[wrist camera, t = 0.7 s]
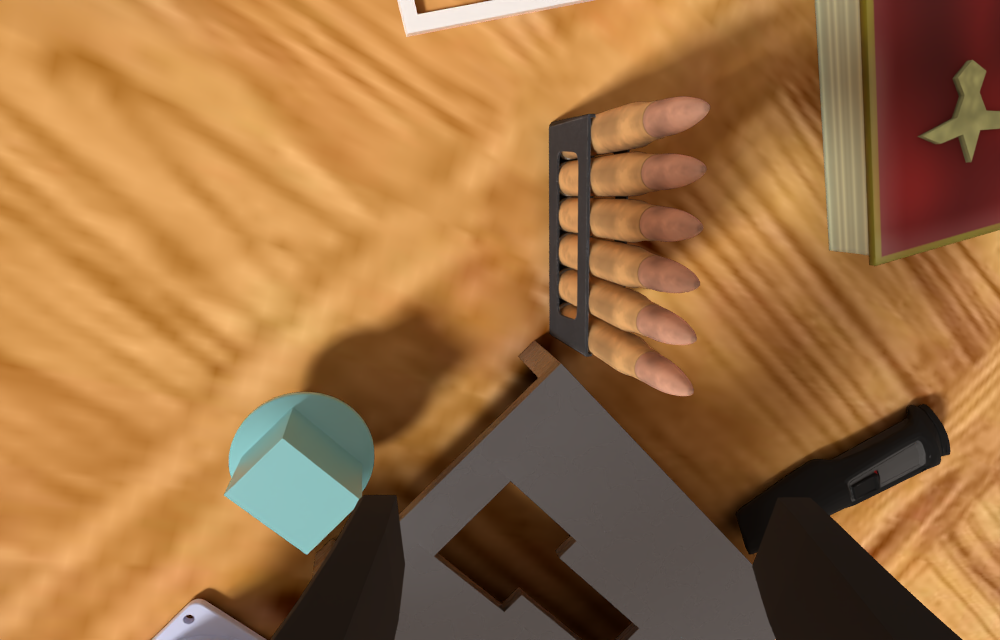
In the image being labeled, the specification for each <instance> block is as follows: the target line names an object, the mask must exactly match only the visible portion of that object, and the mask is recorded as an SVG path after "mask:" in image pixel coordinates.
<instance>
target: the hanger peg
mask: <svg viewBox="0 0 1000 640" xmlns="http://www.w3.org/2000/svg"><path fill="white" fill-rule="evenodd" d="M373 465H374V444H373V439H372V435H371V433H370V430H369V428H368V426H367V424H366V423H365V421H364V420H363V418H362V417H361V416H360V415H359V414H358V413H357V412H356V411H355V410H354V409H353V408H352V407H351V406H349V405H348V404H347V403H345V402H343V401H341V400H339V399H337V398H335V397H332V396H330V395H326V394H322V393H316V392H294V393H289V394H284V395H281V396H278V397H275V398H273V399H271V400H269V401H267V402H265V403H263V404H262V405H260V406H259V407H257V408H256V409H255V410H254V411H253V412H251V413H250V414H249V415H248V417H247V418H246V419H245V420H244V421H243V423H242V424H241V426H240V427H239V429H238V431H237V433H236V435H235V437H234V439H233V441H232V444H231V448H230V453H229V470H230V475H231V478H232V479H231V481H230V483H229V485H228V487H227V489H226V491H225V493H224V496H226V497H227V498H228V499H230V500H231V501H233V502H234V503H235V504H237V505H238V506H240V507H241V508H242V509H244V510H245V511H246V512H248V513H249V514H251V515H252V516H253V517H255V518H256V519H258V520H259V521H260V522H262V523H263V524H264V525H266V526H267V527H269V528H270V529H271V530H273V531H274V532H276V533H277V534H278V535H280V536H281V537H283V538H284V539H285V540H287V541H288V542H289V543H291V544H292V545H294V546H295V547H296V548H298V549H299V550H301V551H302V552H303V553H305V554H306V555H307V554H308V553H309V552H310V551H311V550H312V549H313V548H314V547H316V546H317V545H318V544H319V543H320V542H321V541H322V540H323V539H324V538H325V537H326V536H327V535H328V534H329V533H330V532H331V531H332V530H333V529H334V528H335V527H336V526H337V525H338V524H339V523H340V522H341V521H342V520H343V519H344V518H345V517H346V516H347V515H348V514H349V513H350V512H351V511H352V510H353V509H354V508H355V506H356V504H357V502H358V500H359V499H360V498H361V497H362V491H363V490H364V489H365V487H366V485H367V483H368V481H369V479H370V477H371V474H372V470H373Z"/></svg>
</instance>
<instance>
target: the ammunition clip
mask: <svg viewBox="0 0 1000 640" xmlns="http://www.w3.org/2000/svg"><path fill="white" fill-rule="evenodd" d="M709 110H710V105H709V104H708V103H707V102H706V101H704V100H702V99H699V98H694V97H686V96H681V97H672V98H667V99H663V100H657V101H652V102H641V101H639V102H634V103H629V104H626V105H623V106H620V107H617V108H614V109H611V110H608V111H604V112H601V113H598V114H587V115H582V116H578V117H573V118H568V119H564V120H559V121H554V122H551V124H550V126H549V291H550V334H551V335H552V336H554V337H555V338H557V339H558V340H560V341H562V342H563V343H565V344H566V345H568V346H570V347H571V348H573V349H575V350H576V351H578V352H579V353H581V354H583V355H584V356H592V354H593V355H595V356H596V357H598V358H599V359H601V360H602V361H604V362H605V363H607V364H608V365H610V366H611V367H612V368H614V369H615V370H617V371H619V372H621V373H623V374H625V375H628V376H633V377H635V378H636V379H638V380H640V381H642V382H644V383H646V384H648V385H649V386H651V387H653V388H655V389H657V390H660V391H662V392H664V393H667V394H671V395H676V396H689V395H692V394H693V393H694V389H693V386H692V384H691V382H690V380H689V379H688V378H687V376H686V375H685V374H684V373H683V372H682V371H681V369H680V368H679V367H677V366H676V365H675V364H674V363H672V362H671V361H670V360H668V359H667V358H665V357H663V356H661V355H660V353H658V352H657V351H655V350H653V349H652V348H650V347H649V345H648V344H647V343H646V342H645V341H644V340H643V339H641V338H640V337H638V336H636V335H634V334H632V333H630V332H636V333H638V334H640V335H643V336H647V337H649V338H652V339H654V340H656V341H659V342H663V343H666V344H673V345H688V344H692V343H694V342H696V340H697V337H696V334H695V332H694V330H693V329H692V328H691V327H690V326H689V324H688V323H687V322H686V321H684V320H683V319H682V318H681V317H679V316H678V315H676V314H674V313H673V312H671V311H669V310H667V309H665V308H663V307H661V306H659V305H657V304H655V303H653V302H651V301H650V300H649V299H648V298H647V297H646V296H644V295H642V294H641V293H639V292H636V291H634V290H631V289H628V288H626V287H633V288H637V287H642V288H646V289H652V290H656V291H661V292H669V293H683V292H689V291H692V290H695V289H696V288H698V287H699V286H700V281H699V279H698V278H697V276H696V275H695V274H694V273H693V272H692V271H691V270H689V269H688V268H686V267H685V266H683V265H681V264H680V263H678V262H675V261H673V260H671V259H667V258H663V257H660V256H659V255H655V254H652V253H650V252H648V251H647V250H645V249H643V248H642V247H639V246H634V245H629V244H627V242H633V243H635V242H640V241H644V240H645V241H663V242H671V241H680V240H685V239H688V238H691V237H694V236H696V235H697V234H699V233H700V232H701V231H702V230H703V225H702V223H701V222H700V221H699V220H698V219H697V218H696V217H694V216H692V215H691V214H689V213H687V212H685V211H682V210H679V209H675V208H670V207H661V206H657V205H650V204H648V203H646V202H644V201H640V200H634V199H628V196H638V195H643V194H646V193H648V192H652V191H658V190H668V189H673V188H677V187H682V186H685V185H688V184H690V183H692V182H694V181H696V180H697V179H699V178H700V177H702V176H703V175H704V173H705V172H706V170H707V168H706V166H705V164H704V163H703V162H701V161H700V160H698V159H696V158H693V157H690V156H686V155H681V154H670V153H668V154H647V153H643V152H629V149H634V148H639V147H643V146H646V145H647V144H649V143H651V142H652V141H654V140H657V139H661V138H664V137H666V136H670V135H674V134H677V133H680V132H682V131H685V130H687V129H689V128H690V127H692V126H694V125H695V124H697V123H698V122H699V121H701V120H702V119H703V118H704V117H705V116H706V115H707V113H708V112H709ZM607 153H614V155H608V156H601V157H594V156H596V155H601V154H607ZM593 196H615V199H606V198H593ZM593 236H596V237H602V238H608V239H614V241H610V240H605V239H600V238H595V237H593ZM604 279H605V280H604ZM607 280H608V281H607ZM610 281H611V282H610ZM612 282H613V283H612ZM588 351H589V352H588ZM590 352H591V353H590Z"/></svg>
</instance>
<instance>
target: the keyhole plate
mask: <svg viewBox="0 0 1000 640" xmlns="http://www.w3.org/2000/svg"><path fill="white" fill-rule="evenodd" d="M518 357H519V358H520V359H521V360H522V361H523V362H524V363H525V364H526V365H527V366H528V367H529V368H530V369H531V370H532V372H533V373H534V374H535V375H536V376H537V377H538V379H537V380H536V381H535V382H534V383H533V384H531V385H530V386H529V387H528V388H527V389H526V390H525V391H524V392H523V393H522V394H521V395H520V396H519V397H518V398H517V399H516V400H515V401H514V402H513V403H512V404H511V405H510V406H509V407H508V408H507V409H506V410H505V411H504V412H503V413H502V414H501V415H500V416H499V417H498V418H497V419H496V420H495V421H494V422H493V423H492V424H491V425H490V426H489V427H488V428H487V429H486V430H484V431H483V432H482V433H481V434H480V435H479V436H478V437H477V438H476V439H475V440H474V441H473V442H472V443H471V444H470V445H469V446H468V447H467V448H466V449H465V450H464V451H463V452H462V453H461V454H460V455H459V456H458V457H457V458H456V459H455V460H454V461H453V462H452V463H451V464H450V465H449V466H448V467H447V468H446V469H445V470H444V471H443V472H442V473H441V474H440V475H439V476H438V477H436V478H435V479H434V480H433V481H432V482H431V483H430V484H429V485H428V486H427V487H426V488H425V489H424V490H423V491H422V492H421V493H420V494H419V495H418V496H417V497H416V498H415V499H414V500H413V501H412V502H411V503H410V504H409V505H408V506H407V507H406V508H405V509H404V510H403V511H402V512H401V513H400V514H399V520H400V528H401V536H402V543H403V551H404V559H405V570H404V579H403V588H402V597H401V605H400V613H399V621H398V626H397V630H396V635H395V640H582V639H581V638H580V637H579V636H577V635H576V634H575V633H574V632H573V631H571V630H570V629H569V628H568V627H567V626H565V625H564V624H563V623H562V622H560V621H559V620H558V619H557V618H556V617H554V616H553V615H552V614H551V613H550V612H548V611H547V610H546V609H545V608H543V607H542V606H541V605H540V604H539V603H537V602H536V601H535V600H534V599H533V598H531V597H530V596H529V595H528V594H526V593H525V592H524V591H523V590H522V589H520V588H519V587H518V588H517V589H516V590H515V591H514V592H513V593H512V594H511V595H510V596H509V597H508V598H507V599H506V600H505V601H504V602H503V603H502V604H501V603H500V602H499V601H497V600H496V599H495V598H494V597H492V596H491V595H490V594H489V593H487V592H486V591H485V590H484V589H482V588H481V587H480V586H479V585H477V584H476V583H475V582H474V581H472V580H471V579H470V578H469V577H467V576H466V575H465V574H464V573H462V572H461V571H460V570H459V569H457V568H456V567H455V566H454V565H452V564H451V563H450V562H449V561H447V560H446V559H445V558H444V557H442V556H441V555H440V554H439V553H438V552H439V551H440V550H441V549H442V548H443V547H444V546H445V545H446V544H447V543H448V542H449V541H450V540H451V539H452V538H453V537H454V536H455V535H456V534H457V533H458V532H459V531H460V530H461V529H462V528H463V527H464V526H465V525H466V524H467V523H468V522H469V521H470V520H471V519H472V518H473V517H474V516H475V515H476V514H477V513H478V512H479V511H480V510H481V509H482V508H483V507H485V506H486V505H487V504H488V503H489V502H490V501H491V500H492V499H493V498H494V497H495V496H496V495H497V494H498V493H499V492H500V491H501V490H502V489H503V488H504V487H505V486H506V485H507V484H508V483H509V482H510V481H511V482H512V483H513V484H514V485H516V486H517V487H518V488H519V489H520V490H521V491H522V492H523V493H524V494H525V495H527V496H528V497H529V498H530V499H531V500H532V501H533V502H534V503H535V504H536V505H538V506H539V507H540V508H541V509H542V510H543V511H544V512H545V513H546V514H548V515H549V516H550V517H551V518H552V519H553V520H554V521H555V522H556V523H557V524H559V525H560V526H561V527H562V528H563V529H564V530H565V531H566V532H567V533H568V534H570V535H571V536H570V537H569V538H568V539H567V540H566V541H565V542H564V543H563V544H562V545H561V546H560V547H559V548H558V549H557V550H556V553H557V555H558V557H559V558H560V559H561V560H562V561H563V562H564V563H566V564H567V565H568V566H569V567H570V568H571V569H572V570H574V571H575V572H576V573H577V574H578V575H579V576H580V577H581V578H583V579H584V580H585V581H586V582H587V583H588V584H589V585H591V586H592V587H593V588H594V589H595V590H596V591H597V592H599V593H600V594H601V595H602V596H603V597H604V598H605V599H607V600H608V601H609V602H610V603H611V604H612V605H613V606H614V607H616V608H617V609H618V610H619V611H620V612H621V613H622V614H624V615H625V616H626V617H627V618H628V619H629V620H630V621H632V623H631V624H630V625H629V626H628V627H627V628H626V629H625V630H624V631H623V632H622V633H621V634H620V635H619V636H618V637H617V638H616V639H615V640H775V639H776V638H775V636H774V633H773V631H772V628H771V626H770V624H769V621H768V618H767V614H766V611H765V608H764V605H763V602H762V599H761V595H760V592H759V588H758V585H757V581H756V578H755V574H754V571H753V568H752V566H753V565H752V564H751V563H750V562H749V561H748V560H747V559H746V558H745V557H744V555H743V554H742V553H741V552H740V551H739V550H738V549H737V548H736V547H735V546H734V545H733V544H732V543H731V542H730V541H729V540H728V539H727V538H726V537H725V535H724V534H723V533H722V532H721V531H720V530H719V529H718V528H717V527H716V526H715V525H714V524H713V523H712V522H711V521H710V520H709V519H708V518H707V517H706V515H705V514H704V513H703V512H702V511H701V510H700V509H699V508H698V507H697V506H696V505H695V504H694V503H693V502H692V501H691V500H690V499H689V498H688V497H687V495H686V494H685V493H684V492H683V491H682V490H681V489H680V488H679V487H678V486H677V485H676V484H675V483H674V482H673V481H672V480H671V479H670V478H669V477H668V475H667V474H666V473H665V472H664V471H663V470H662V469H661V468H660V467H659V466H658V465H657V464H656V463H655V462H654V461H653V460H652V459H651V458H650V456H649V455H648V454H647V453H646V452H645V451H644V450H643V449H642V448H641V447H640V446H639V445H638V444H637V443H636V442H635V441H634V440H633V439H632V438H631V436H630V435H629V434H628V433H627V432H626V431H625V430H624V429H623V428H622V427H621V426H620V425H619V424H618V423H617V422H616V421H615V420H614V419H613V418H612V416H611V415H610V414H609V413H608V412H607V411H606V410H605V409H604V408H603V407H602V406H601V405H600V404H599V403H598V402H597V401H596V400H595V399H594V398H593V396H592V395H591V394H590V393H589V392H588V391H587V390H586V389H585V388H584V387H583V386H582V385H581V384H580V383H579V382H578V381H577V380H576V379H575V378H574V376H573V375H572V374H571V373H570V372H569V371H568V370H567V369H566V368H565V367H564V366H563V365H562V364H561V363H560V362H559V361H558V360H557V359H555V358H554V357H553V356H552V355H551V354H550V353H548V352H547V351H546V350H545V349H544V348H543V347H542V346H540V345H539V344H538V343H537V342H536V341H534V342H533V343H532V344H531V345H530V346H528V347H527V348H526V349H525V350H524V351H523V352H522V353H521V354H520V355H519V356H518ZM335 542H336V541H335V540H333V539H331V540H330V541H329V542H328V543H327V544H326V545H325V546H324V547H323V548H322V549H321V550H320V551H319V552H318V553H317V554H316V555H315V561H314V569H313V576H312V578H313V577H314V575H315V574H316V572H317V571H318V569H319V568H320V566H321V564H322V563H323V561H324V560H325V558H326V556H327V555H328V553H329V551H330V550H331V548H332V547H333V545H334V543H335Z"/></svg>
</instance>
